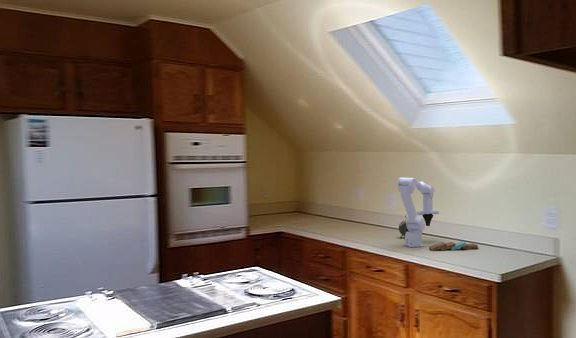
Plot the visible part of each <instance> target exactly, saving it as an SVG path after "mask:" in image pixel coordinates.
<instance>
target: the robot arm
mask: <svg viewBox="0 0 576 338" xmlns="http://www.w3.org/2000/svg"><path fill="white" fill-rule="evenodd" d="M396 185H397V188H398V192H399V193H400V197H401V199H402V200H401V201H402V203H403V205H404V208H405V212H406V214H407V215H406V216H407V217H406V218H407V219H405V220H406V226H407V229H408V231H409V232H406V233H405V236H404V246H407V247H409V248H416V247H417V248H418V247H419V248H420V247H425V245H424V244H423V242H422V239H423V238H422V235H423V234H422V233H423V231H424V230H425V227H426V226H427V227H430V226H431V222H432V219H433V218H434V215H439V214H440V211H439V210H433V198H434V194H435V187H434V186H433V185H429V184H428V183H425V181H418V180H417V178H415V177H402V176H400V177H399V178H398V179H397V183H396ZM415 188H416V190H417V191H419V192H420V193H421V194H422V211H417V210H416V207H415V205H414V201H413V198H412V194H413V193H414V191H415ZM420 216H422V217H423V218H422V217H420ZM423 219H424V220H423Z"/></svg>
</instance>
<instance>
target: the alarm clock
mask: <svg viewBox="0 0 576 338" xmlns="http://www.w3.org/2000/svg"><path fill="white" fill-rule="evenodd" d="M407 216H408V215H407V213H406V214H405V219H403V220H402V221H401V222H400V223H399V225H398V231H399V234H401V235H400V239H401V238H402V237H405V233H406V232H409V231H408V229H407V226H406V220H407V218H408V217H407Z"/></svg>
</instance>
